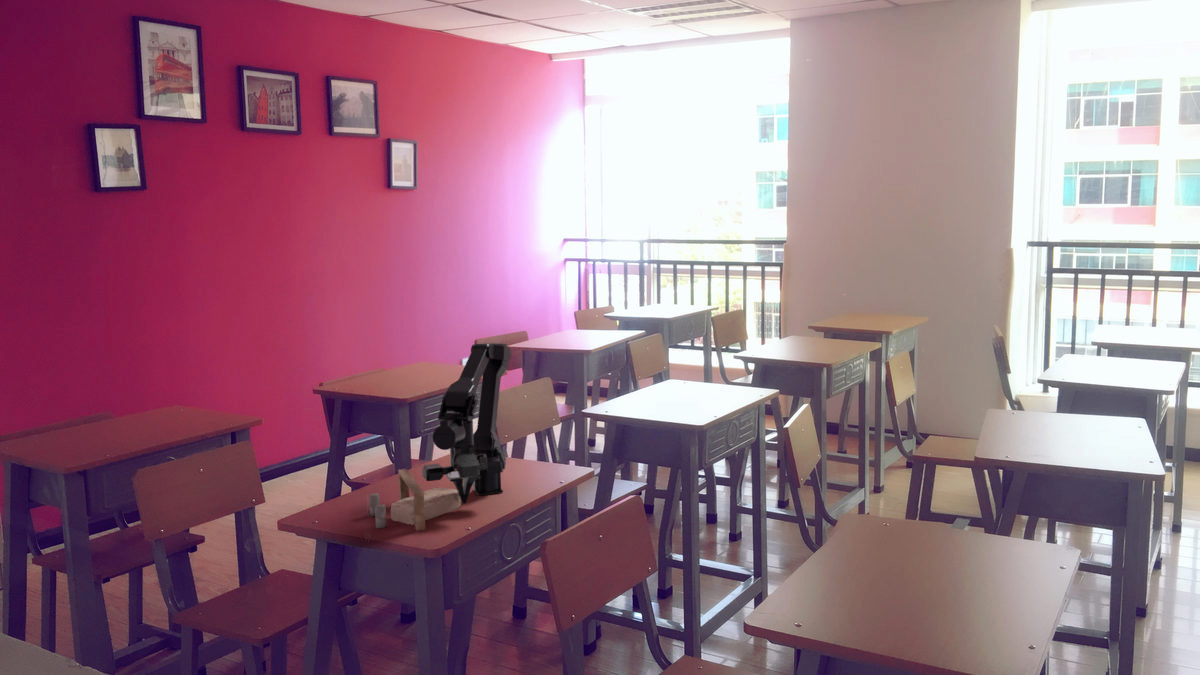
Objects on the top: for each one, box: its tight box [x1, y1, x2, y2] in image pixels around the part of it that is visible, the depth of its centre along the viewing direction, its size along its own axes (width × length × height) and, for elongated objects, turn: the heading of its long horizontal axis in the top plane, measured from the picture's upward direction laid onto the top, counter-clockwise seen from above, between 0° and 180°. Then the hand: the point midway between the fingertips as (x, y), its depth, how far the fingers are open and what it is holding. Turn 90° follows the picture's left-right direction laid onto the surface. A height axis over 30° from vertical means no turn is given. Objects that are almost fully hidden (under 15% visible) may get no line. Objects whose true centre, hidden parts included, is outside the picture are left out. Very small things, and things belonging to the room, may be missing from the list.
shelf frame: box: [368, 468, 426, 532], centre depth 221 cm, size 10×23×9 cm, turn 21°
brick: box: [390, 486, 462, 526], centre depth 225 cm, size 17×8×5 cm, turn 145°
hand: (464, 503), depth 227 cm, fingers closed
